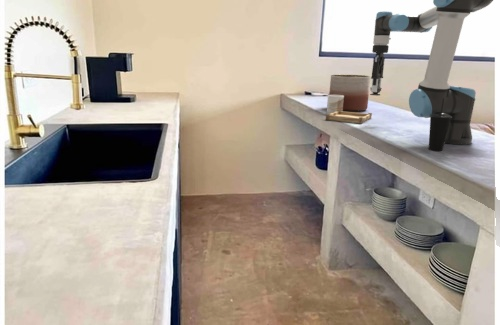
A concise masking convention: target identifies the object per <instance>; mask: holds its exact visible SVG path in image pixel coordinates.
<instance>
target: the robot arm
mask: <svg viewBox="0 0 500 325" xmlns="http://www.w3.org/2000/svg"><path fill="white" fill-rule="evenodd" d="M432 1H433V5H434V7H432V8H430V9H428V10H426V11H423V12H422V13H420V14H405V13H396V14H393V12H392V11H387V10H386V11H385V10H384V11H378V12H377V13H376V16H375V22H374V23H375V24H374V33H373V42H372V43H373V45H372V53H373V54H375V56H374V57H373V59H372V60H373V61H372V62H373V64H372V70H371V76H370V80H371V81H372V82H371V87H372V88H371V87H370V92H371V93H373V92H377V86H378V74H380V84H379V85H380V88H382V87H381V86H382V79H384V67H385V60H386V58H385V55H384V54H388V52H389V44H390V40H391V32H392V33H393V32H394V33H395V32H398V33H399V32H401V33H402V32H403V33H405V32H406V33H428V32H430V31H431V30H432V29H433V27H435V26H436V30H435V32H434V37H433V41H432V44H431V45H432V46H431V49H430V52H429V58H428V61H427V67H426V69H425V74H424V78H423V79H422V80H421V81H420V82H419V83H418V86H417V88H416V89H413V90H412V91H411V93H410V94H409V98H408V106H409V109H410V111H411V113H412V114H413V115H414V116H415V117H416V118H424V119H429V118H430V114H433V113H436V112H441V106H442V100H443V98H444V99H445V100H444V106H443V112H445V113H447V114H449V115H451V116H452V118H451V120H450V124H449V128H448V131H447V135H446V139H445V142H444V144H449V145H450V144H452V145H469V144H470V145H471V144H472V141H473V134H472V133H473V132H472V128H471V121H472V117H473V112H474V107H475V106H474V105H475V103H476V102H475V101H476V90H475V89H473V88H470V87H463V86H456V85H449V83H448V81H449V78H450V73H451V69H452V66H453V61H454V57H455V54H456V51H457V47H458V43H459V40H460V35H461V31H462V28H463V24H464V20H465V19H466V18H467V17H468V16H469V15H471V13H475V12H477V11H479V10H482V9H485V8H486V7H488V6H489V5H490V4H491V3H492V2H493V1H494V0H432Z"/></svg>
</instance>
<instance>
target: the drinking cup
mask: <svg viewBox="0 0 500 325" xmlns="http://www.w3.org/2000/svg"><path fill="white" fill-rule="evenodd" d="M444 100H445V99H444V98H443V100H442V106H441V112H436V113H433V114H430V119H429V133H428V134H429V136H428V137H429V138H428V150H429V151H433V152H442V151H443V149H444V145H445V143H444V142H445V139H446V135H447V131H448V128H449V124H450V120H451V118H452V116H451V115H449V114H447V113H445V112H443V106H444Z"/></svg>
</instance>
